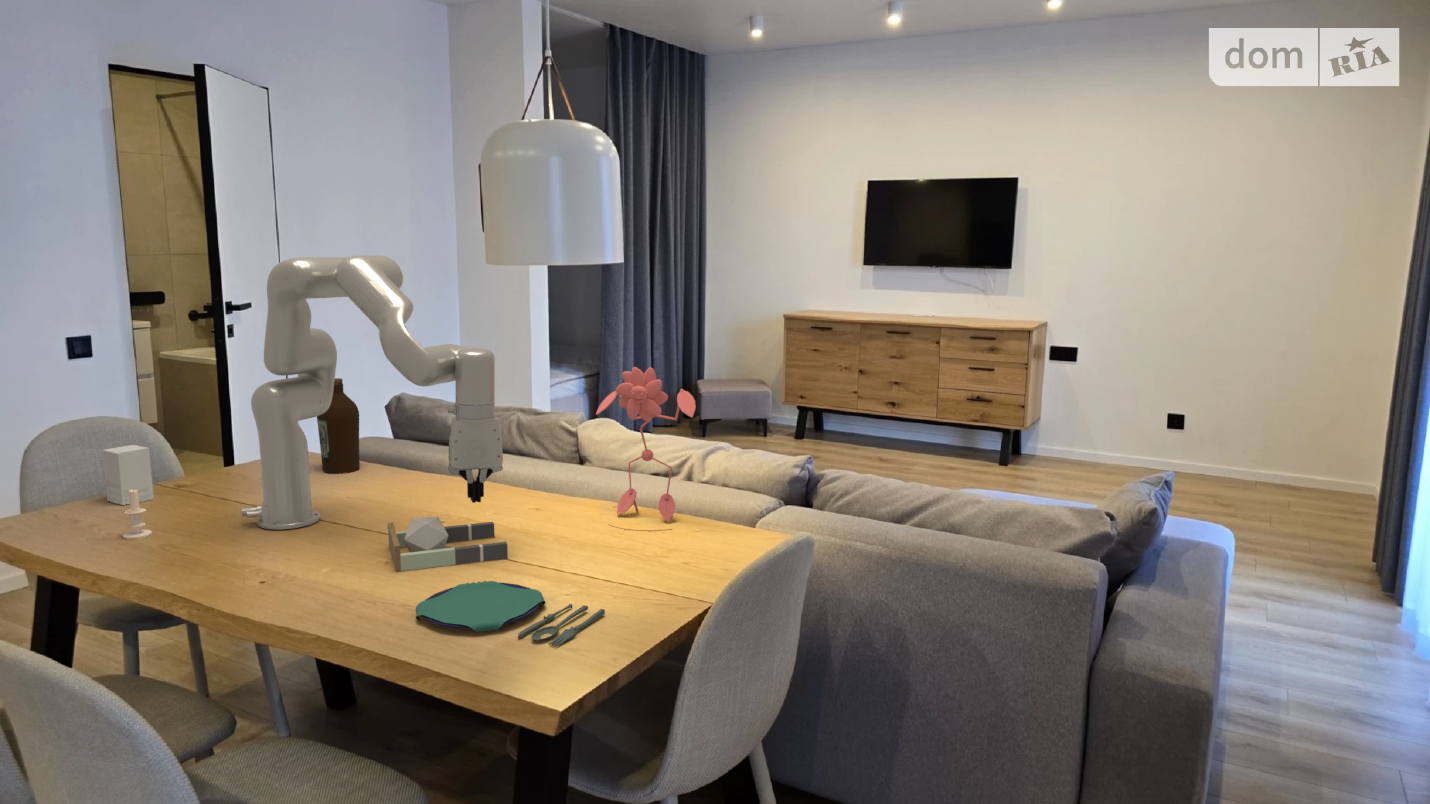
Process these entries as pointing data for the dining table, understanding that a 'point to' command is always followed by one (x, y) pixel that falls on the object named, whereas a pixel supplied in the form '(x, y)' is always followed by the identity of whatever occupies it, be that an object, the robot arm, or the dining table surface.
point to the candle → (135, 518)
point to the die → (425, 534)
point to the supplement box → (127, 473)
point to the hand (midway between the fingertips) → (475, 500)
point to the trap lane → (448, 554)
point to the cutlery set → (495, 609)
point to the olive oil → (339, 433)
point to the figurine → (644, 400)
